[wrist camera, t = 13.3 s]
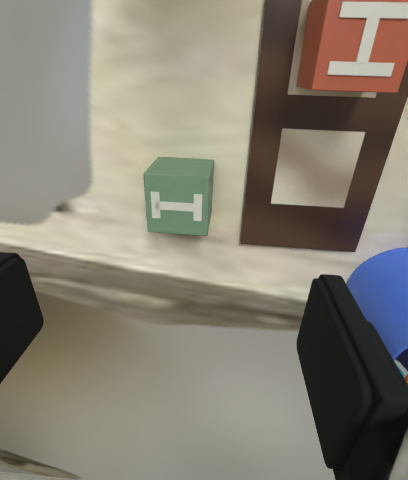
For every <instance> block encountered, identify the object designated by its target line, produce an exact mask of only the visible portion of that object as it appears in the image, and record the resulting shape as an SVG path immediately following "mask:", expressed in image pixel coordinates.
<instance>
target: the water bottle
mask: <svg viewBox="0 0 408 480" xmlns="http://www.w3.org/2000/svg"><path fill="white" fill-rule="evenodd" d="M347 287H348V288H349V290H350V292H351V294H352V296H353V297H354V299H355V301H356V303H357V305H358V306H359V308H360V310H361V312H362V314H363V315H364V317H365V319H366V321H369V322H371V323H372V325H373V326H374V327H375V329H376V331H377V332H378V334H379V336H380V338H381V339H382V341H383V343H384V344H385V346H386V348H387V350H388V351H389V353H390V355H391V357H392V358H393V360H394V362H395V364H396V365H397V367H398V369H399V370H400V372H401V374H402V376H403V377H404V379H405V381H406V383H407V384H408V248H399V249H394V250H389V251H386V252H383V253H380V254H378V255H376V256H374V257H372V258H370V259H368V260H367V261H366V262H364V263H363V264H361V265H360V266H359V267H358V268H357V269H356V270H355V271H354V272H353V274H352V275H351V277H350V278H349V280H348V282H347Z"/></svg>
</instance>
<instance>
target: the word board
mask: <svg viewBox="0 0 408 480" xmlns="http://www.w3.org/2000/svg"><path fill="white" fill-rule="evenodd" d="M311 1H312V0H266V1H265V10H264V20H263V30H262V39H261V49H260V58H259V68H258V78H257V87H256V97H255V106H254V116H253V125H252V135H251V145H250V154H249V164H248V173H247V183H246V193H245V202H244V212H243V221H242V231H241V240H240V241H241V244H250V245H265V246H279V247H293V248H308V249H322V250H336V251H350V252H355V251H356V248H357V245H358V242H359V239H360V236H361V233H362V230H363V227H364V224H365V221H366V218H367V215H368V212H369V209H370V206H371V203H372V200H373V197H374V195H375V192H376V189H377V186H378V183H379V180H380V177H381V174H382V171H383V168H384V165H385V162H386V159H387V156H388V153H389V150H390V147H391V144H392V141H393V138H394V135H395V132H396V129H397V126H398V124H399V121H400V118H401V115H402V112H403V109H404V106H405V103H406V100H407V97H408V61H407V65H406V68H405V71H404V74H403V77H402V80H401V83H400V86H399V89H398V92H397V93H377V92H348V91H320V90H309V89H304V88H300V87H296V85H297V78H298V72H299V66H300V60H301V54H302V48H303V42H304V36H305V30H306V24H307V17H308V11H309V5H310V2H311Z"/></svg>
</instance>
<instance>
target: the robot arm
mask: <svg viewBox="0 0 408 480" xmlns="http://www.w3.org/2000/svg"><path fill="white" fill-rule="evenodd" d="M42 326H43V316H42V313H41V310H40V307H39V304H38V301H37V298H36V294H35V291H34V288H33V285H32V282H31V279H30V276H29V273H28V270H27V267H26V263H25V261H24V260H23V259H22V258H20V256H19V255H18V254H16V253H5V252H0V383H1V382H2V381H3V379H4V378H5V377H6V375H7V374H8V373H9V371H10V370H11V369H12V367H13V366H14V365H15V363H16V362H17V360H18V359H19V358H20V357H21V355H22V354H23V353H24V351H25V350H26V349H27V347H28V346H29V345H30V343H31V342H32V341H33V339H34V338H35V337H36V335H37V334H38V333H39V331H40V330H41V328H42ZM297 351H298V355H299V360H300V364H301V368H302V372H303V376H304V380H305V384H306V388H307V392H308V396H309V400H310V404H311V408H312V412H313V416H314V420H315V425H316V429H317V433H318V437H319V441H320V445H321V449H322V453H323V457H324V461H325V464H326V466H327V467H328V468H331V469H333V471H334V475H335V479H336V480H408V384H407V383H406V381H405V379H404V377H403V376H402V374H401V372H400V370H399V369H398V367H397V365H396V364H395V362H394V360H393V358H392V357H391V355H390V353H389V351H388V350H387V348H386V346H385V344H384V343H383V341H382V339H381V338H380V336H379V334H378V332H377V331H376V329H375V327H374V326H373V325H372V323H371V322H369V321H366V319H365V317H364V315H363V314H362V312H361V310H360V308H359V306H358V305H357V303H356V301H355V299H354V297H353V296H352V294H351V292H350V290H349V288H348V287H347V285H346V283H345V281H344V280H343V278H342V277H341V276H338V275H324V274H322V275H320V276H319V278H318V279H313V281H312V285H311V288H310V292H309V296H308V300H307V304H306V307H305V311H304V315H303V319H302V323H301V326H300V330H299V334H298V338H297ZM0 480H76V479H67V478H57V477H48V476H39V475H30V474H21V473H12V472H2V471H0Z"/></svg>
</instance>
